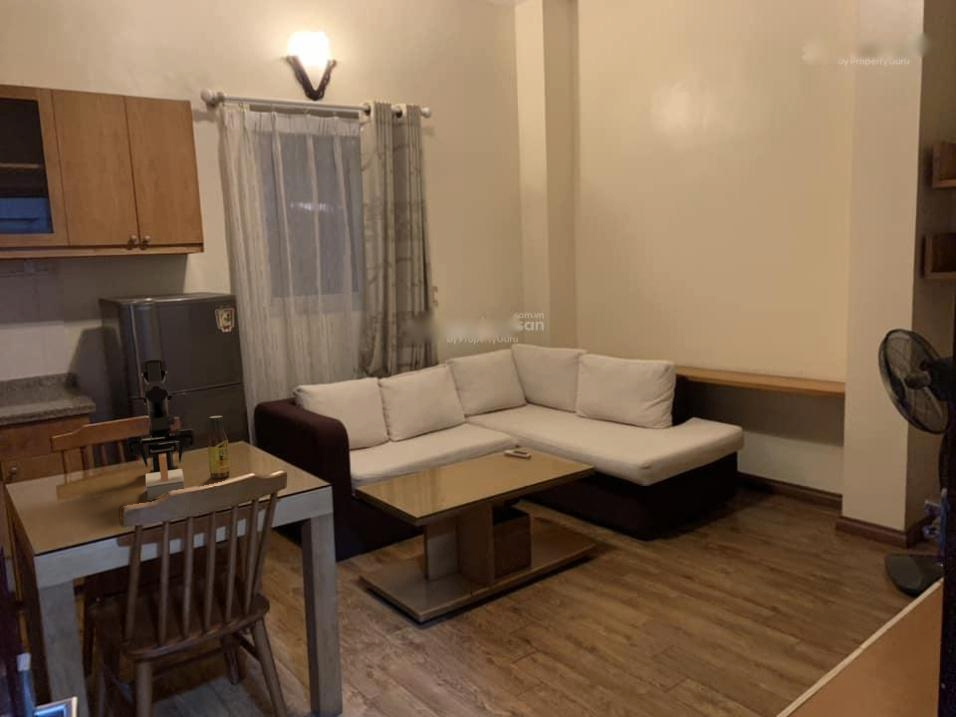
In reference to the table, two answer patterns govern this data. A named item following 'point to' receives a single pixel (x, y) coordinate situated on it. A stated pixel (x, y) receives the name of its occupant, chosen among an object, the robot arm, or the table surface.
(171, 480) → the lid
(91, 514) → the table surface
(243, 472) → the table surface
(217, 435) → the sauce bottle
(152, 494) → the parts tub
